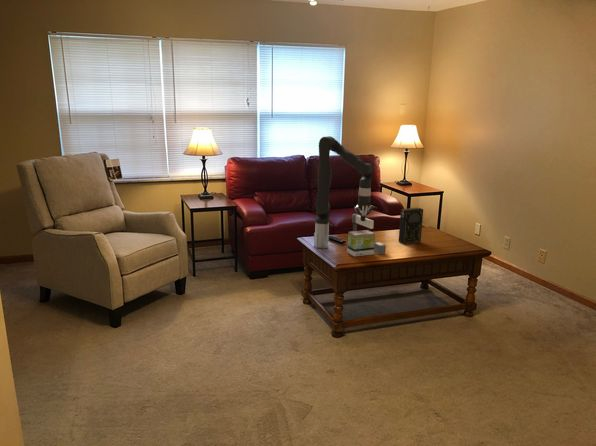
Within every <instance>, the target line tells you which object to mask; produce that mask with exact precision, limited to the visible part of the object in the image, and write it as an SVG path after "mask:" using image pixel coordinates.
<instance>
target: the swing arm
mask: <svg viewBox="0 0 596 446" xmlns="http://www.w3.org/2000/svg"><path fill="white" fill-rule="evenodd" d="M360 217H361V215H359V214H358V213H353V214H352V219H351V222H352V223H353V222H354V223H357V225H360V226H363V227H366V228H367V229H374V220H373V219H369V218H367V217H365V220H364V221H361V220H360Z"/></svg>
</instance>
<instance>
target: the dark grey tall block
mask: <svg viewBox="0 0 596 446" xmlns="http://www.w3.org/2000/svg"><path fill="white" fill-rule="evenodd" d="M399 217H400V218H399V230H398V231H399V232H398V243H400V244H403V245H412V244H419V243H421V241H422V231H423V218H424V209H423V208H421V207H411V208H410V207H409V208H401V209H400V215H399Z"/></svg>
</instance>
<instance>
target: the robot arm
mask: <svg viewBox="0 0 596 446" xmlns="http://www.w3.org/2000/svg"><path fill="white" fill-rule="evenodd" d="M330 151H331V152H334V153H335V154H337V155H338V156H339V157H340V159H342V160H343V161H344V162H345V163H347V164H348V165H349V166H350V167H352V168H354V169H355V170H356V171H357V172H358V173H359V174H360V175H362V176H361V178H360V180H359V189H358V201H357V204H356V206H354V207H353V209H354V210H355V212H356V214H358V215H359V216H361V217H360V220H361V221H364V220H365V218H366V216H367V215H370V213H371V211H373V209H374V207H373V206H371V192H372V190H371V186H372V184H371V183H372V178H373V175H374V165H373V164H372V163H369V162H367V163H366V162H364V161H362V160H361V159H362V158H360V157H359V156H357V155H356V154H355V153H353V152H351V151H349V149H347V148H346V147H345V146H343V145H342V144H341V143H340V142H339V141H337V140H336V138H335V137H334V136H331V135H329V136H327V135H326V136H322V137H321V138H320V139H319V142H318V169H317V195H316V201H315V202H316V203H315V225H314V228H315V229H314V231H315V232H314V233H313V247H315V249H327V248H329V237H330V236H329V234H330V232H329V231H330V230H329V228H330V213H331V204H330V201H329V193H330V188H331V183H332V178H333V177H332V175H333V168H332V165H331V162H330Z"/></svg>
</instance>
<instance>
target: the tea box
mask: <svg viewBox="0 0 596 446" xmlns="http://www.w3.org/2000/svg"><path fill="white" fill-rule="evenodd" d="M375 241H376V233H374V232H372V231H371V230H368V229H367V230H357V231H353V230H352V231H348V236H347V249H346V250H347V251H346V252H347V254H349V255H351V256H353V258H355V257H362V256H371V255H374V253H375V252H374V245H375Z"/></svg>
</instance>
